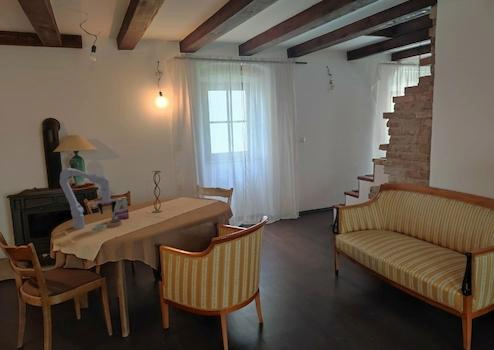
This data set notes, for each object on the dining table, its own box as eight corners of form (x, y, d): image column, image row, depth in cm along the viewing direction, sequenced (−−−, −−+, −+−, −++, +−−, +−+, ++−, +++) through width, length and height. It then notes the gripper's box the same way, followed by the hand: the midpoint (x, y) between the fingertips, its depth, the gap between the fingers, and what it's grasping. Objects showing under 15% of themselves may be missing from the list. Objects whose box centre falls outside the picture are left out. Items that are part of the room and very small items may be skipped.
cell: (111, 225, 267) (110, 217, 266) (117, 224, 270) (116, 216, 269) (113, 226, 264) (112, 218, 263) (118, 225, 266) (118, 217, 265)
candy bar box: (125, 217, 291) (124, 196, 289) (129, 218, 288) (127, 197, 286) (112, 220, 283) (110, 199, 281) (115, 221, 280) (113, 200, 277)
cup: (106, 225, 268) (106, 221, 267) (119, 223, 273) (119, 218, 273) (109, 228, 260) (109, 224, 260) (123, 226, 265) (123, 221, 265)
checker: (90, 228, 262) (89, 226, 262) (104, 226, 268) (104, 223, 267) (93, 232, 254) (93, 229, 253) (108, 229, 259) (107, 226, 259)
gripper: (96, 196, 256) (98, 215, 258) (117, 193, 264) (119, 212, 266) (94, 195, 262) (95, 213, 264) (115, 192, 270) (116, 210, 272)
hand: (107, 212), depth 265 cm, fingers open, 7 cm apart
